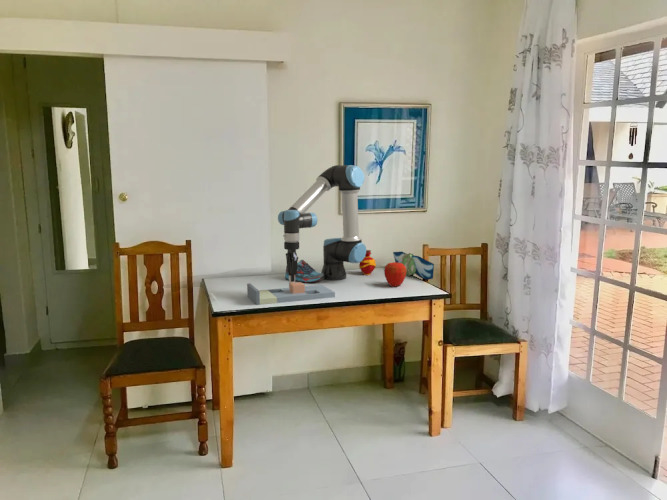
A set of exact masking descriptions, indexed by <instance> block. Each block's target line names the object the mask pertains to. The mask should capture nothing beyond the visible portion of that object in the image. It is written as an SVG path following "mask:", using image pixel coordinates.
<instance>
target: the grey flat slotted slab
mask: <svg viewBox="0 0 667 500" xmlns="http://www.w3.org/2000/svg"><path fill="white" fill-rule="evenodd" d="M246 285H247V286H246V289H247V290H246V291H247V292H246V293H247V297H248V299H250V300H251V301H252V302H253V303H254V304H255V305H260V306H261V305H268V304H269V305H270V304H278V303H287V302H288V303H289V302H299V301H309V300H318V299H328V298H335V297H336V291H334V290H332V289H330V288H328V287H327V286H325V285H323V284H317V285H305V293H296V294H293V293H292V292H290V288H289V287H283V288H281V287H280V288H273V289H272V288H270V289H269V288H268V289H260V290H259V289H258V288H257V287H255V285H253V284H252V283H251V282H249V283H247V284H246Z"/></svg>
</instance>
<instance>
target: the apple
mask: <svg viewBox="0 0 667 500" xmlns="http://www.w3.org/2000/svg"><path fill="white" fill-rule="evenodd" d="M406 271H407V270H406V267H405V266H404V265H403V264H402V263H397V262H396V261H395V260H394V262H388V263H387V264H386V265H385V267H384V271H383V272H384V277H385V280H386V282H387V284H389V286H391V287H395V288H396V287H399V286H401V285H402V284H404V281H405V279H406V276H407V275H406Z"/></svg>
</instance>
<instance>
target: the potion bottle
mask: <svg viewBox="0 0 667 500" xmlns="http://www.w3.org/2000/svg"><path fill="white" fill-rule="evenodd" d="M371 251H372V250H370V249H366V255H365V257H364V259H363V260H362V261H361V262H360V263H358V264H359V265H358V267H359V269H360V271H361V272H362V273H363V275H364V276H370V275H371V274H372V272H373V271H375V269H376V266H377V263H376V262H377V260H375V258H373V257H371V254H372V252H371Z"/></svg>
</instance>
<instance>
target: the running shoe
mask: <svg viewBox="0 0 667 500" xmlns="http://www.w3.org/2000/svg"><path fill="white" fill-rule="evenodd" d="M284 278H285V279H286V280H287V281H289V274H288V272H287V265H286V268H285V275H284ZM322 280H325V279H324V274H323V273H321V272H318V271H316V269H314V268H313V267H312V266H311V265H310V264H309V263H308V262H306V261H305V260H304V259H301V260H299V261H297V274H296V275H295V282H298V283H299V282H301V283H303V284H305V283H306V284H308V283H309V284H311V283H316V282H319V281H320V282H321V281H322Z"/></svg>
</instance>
